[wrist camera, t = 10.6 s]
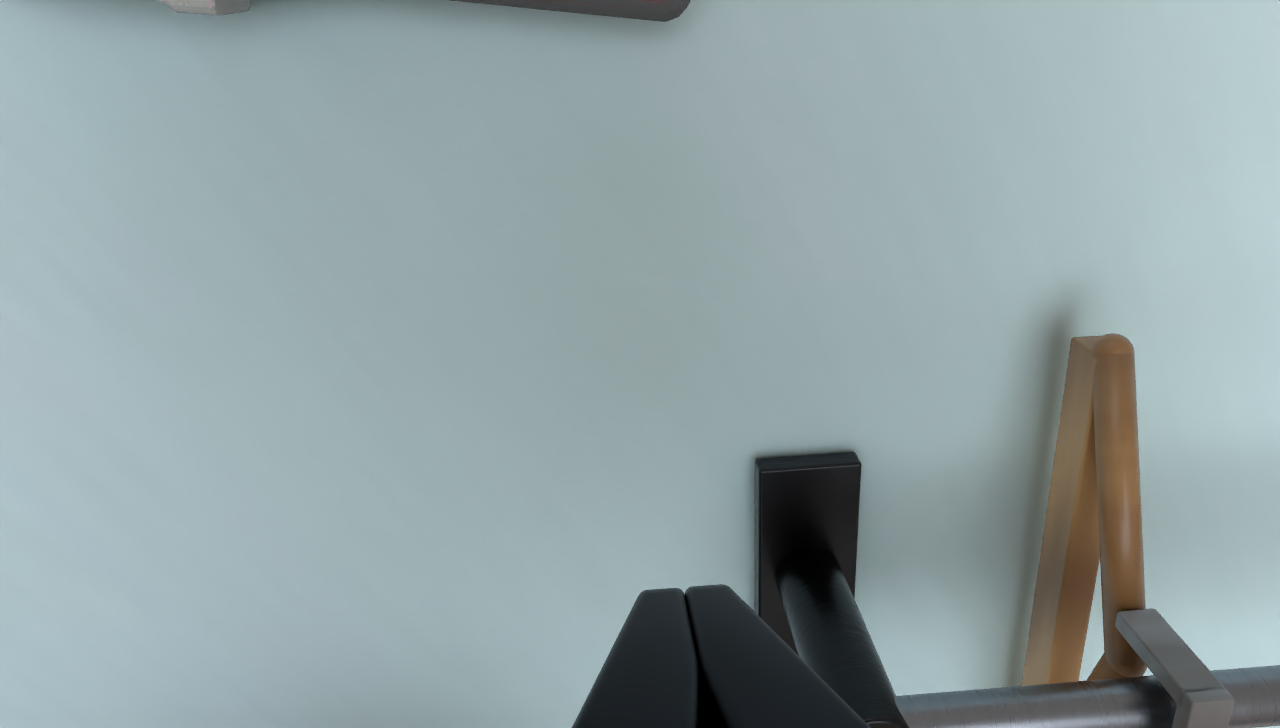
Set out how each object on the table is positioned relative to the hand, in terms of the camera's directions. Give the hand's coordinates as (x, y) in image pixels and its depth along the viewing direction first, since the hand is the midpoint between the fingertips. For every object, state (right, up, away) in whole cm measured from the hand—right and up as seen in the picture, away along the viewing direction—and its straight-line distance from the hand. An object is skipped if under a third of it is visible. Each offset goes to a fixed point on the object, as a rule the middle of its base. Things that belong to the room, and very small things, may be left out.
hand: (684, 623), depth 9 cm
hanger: (+9, -2, +15) cm, 17 cm away
